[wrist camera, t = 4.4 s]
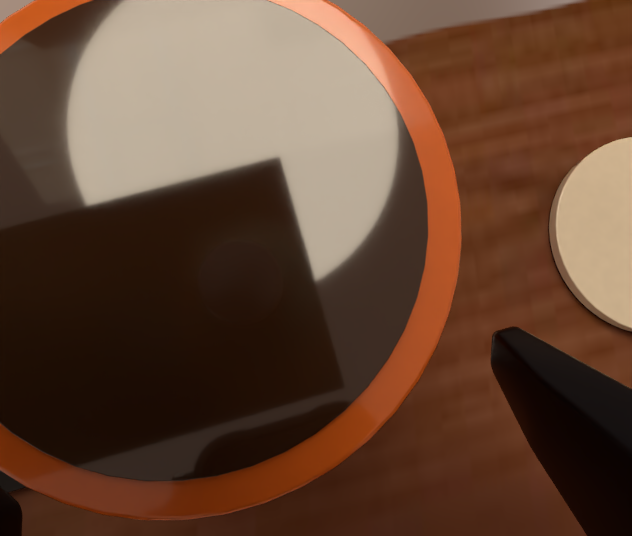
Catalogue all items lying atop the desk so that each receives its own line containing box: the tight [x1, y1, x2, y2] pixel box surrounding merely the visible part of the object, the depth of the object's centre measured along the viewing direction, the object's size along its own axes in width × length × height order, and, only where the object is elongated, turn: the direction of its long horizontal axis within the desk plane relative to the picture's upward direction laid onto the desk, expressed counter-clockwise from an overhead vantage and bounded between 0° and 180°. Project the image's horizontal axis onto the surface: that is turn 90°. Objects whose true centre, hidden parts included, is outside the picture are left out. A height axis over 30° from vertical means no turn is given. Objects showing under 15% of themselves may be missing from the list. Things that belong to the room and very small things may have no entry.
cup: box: [0, 0, 462, 520], centre depth 12 cm, size 7×7×13 cm
